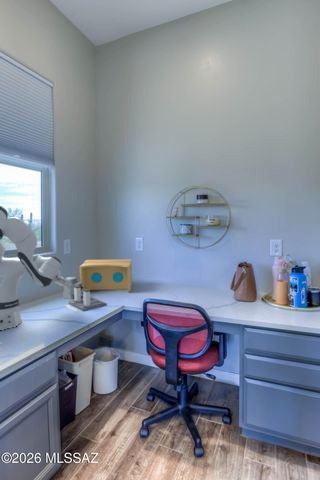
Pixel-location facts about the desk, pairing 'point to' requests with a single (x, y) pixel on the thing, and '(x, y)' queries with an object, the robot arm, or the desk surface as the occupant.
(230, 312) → the desk surface
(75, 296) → the toggle rear
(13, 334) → the desk surface
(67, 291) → the circuit breaker
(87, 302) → the toggle front
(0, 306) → the robot arm
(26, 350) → the desk surface
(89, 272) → the cardboard box
